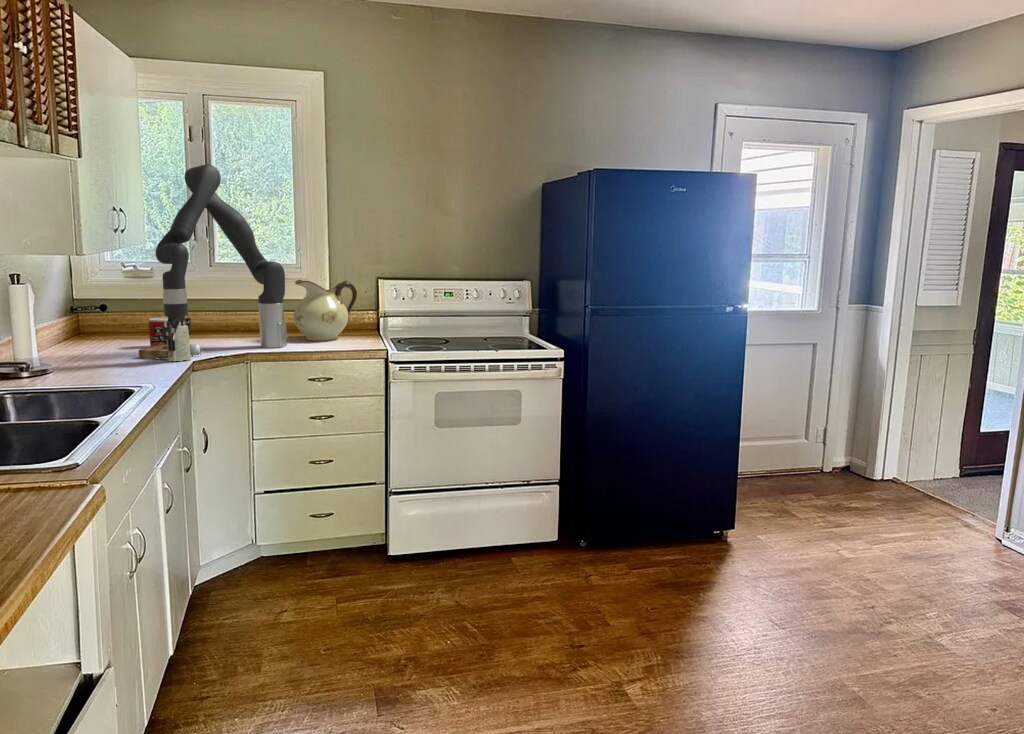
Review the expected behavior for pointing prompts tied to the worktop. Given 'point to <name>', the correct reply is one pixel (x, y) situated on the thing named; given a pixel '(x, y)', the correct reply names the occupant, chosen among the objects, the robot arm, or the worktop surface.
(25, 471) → the worktop surface
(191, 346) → the grey round ball
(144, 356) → the holder
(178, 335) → the skincare box
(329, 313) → the pitcher
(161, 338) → the canned food
